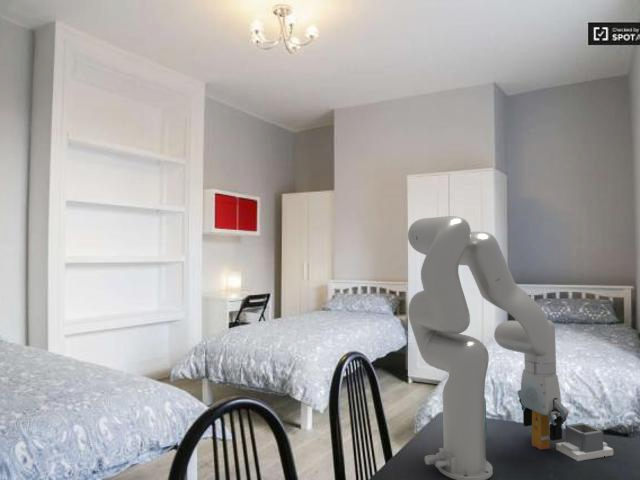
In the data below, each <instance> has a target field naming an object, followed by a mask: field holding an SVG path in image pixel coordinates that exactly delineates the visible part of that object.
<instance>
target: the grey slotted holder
mask: <svg viewBox="0 0 640 480" xmlns="http://www.w3.org/2000/svg"><path fill="white" fill-rule="evenodd" d="M555 450H556V451H559V452H560V453H562V454H564V455H566V456H568V457H569V458H572V459H573V460H575V461H576V462H581V461H586V460H592V459H597V458H604V456H605V457H609V456H610V457H611V456H614V449H613V448H612V447H610V446H608V443H607V442H605V441H604V431H602V430H601V429H599V428H598V427H594V426H593V425H590V424H588V423H584V422H578V423H571V424H565V441H564V442H558V443H557V442H556V443H555Z"/></svg>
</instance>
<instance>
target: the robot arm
mask: <svg viewBox="0 0 640 480" xmlns="http://www.w3.org/2000/svg"><path fill="white" fill-rule="evenodd" d="M407 238H408V239H407V240H408V242H409V244H410V246H411V247H412V249H414V250H415V251H417V253H420V254H423V255H425V257H424V260H423V262H422V266H421V269H420V280H421V285H422V288H423V290H420V291H418V292H416V293H415V294H414V295H413V296H412V297H411V299H410V301H409V304H408V312H407V313H408V319H409V323H410V326H411V330H412V332H413V333H412V334H413V336H414V339H415V343H416V346H417V348H418V351H419V354H420V356H421V357H422V359H423V361H424V362H425V363H426V364H427V365H429V366H430V367H432V368H435V369H438V370H441V371H443V372H446V373H448V378H447V379H446V381H445V383H444V386H443V389H442V433H443V435H442V436H443V443H442V444H443V447H439V452H437V453H436V454H429V455H428V454H427V455H425V456H424V462H425V464H426V465H434V466H435V467H436V468H437V469H438V471H439V472H440V473H441V474H442V475H444V476H445V477H447V478H450V479H452V480H488V479H489V478H491V477H492V476H493V473H494V471H493V470H494V467H493V465H492V464H491V463H490V461H489V460H487V459H486V440H485V400H486V397H485V390H486V379H487V372H488V366H489V360H490V357H489V351H488V349H487V347H486V345H484V343H483V342H482V341H481V340H479V339H477V338H475V337H474V336H471V335H466V334H462V333H464V332H465V331H467V329H468V328H469V326H470V324H471V316H470V315H471V314H470V310H469V307H468V303H467V299H466V297H465V293H464V291H463V287H462V283H461V279H460V275H459V268H460V267H459V266H467V267H468V269H469V271H470V273H471V275H472V277H473V280H474V282H475V285H476V287H477V288H478V290H479V293H480V295H481V297H482V298H483V299H484V300H485V301H487V302H488V303H490V304H491V305H493V306H495V307H497V308H498V309H501V310H502V311H504V312H505V313H507V314H509V315H510V316H512V318H514V319H515V320H505V321H502V322H500V323H499V324H497V326H496V327H495V329H494V335H493V337H494V340H495V342H496V343H497V344H498V345H499V347H501V348H503V349H505V350H509V351H512V352H517V353H522V354H524V369H522V374H521V381H520V389H519V390H517V391H516V393H517V397H518V400H519V403H520V406H521V410H522V411H523V412H522V415H523V416H522V417H523V426H524V427H532V410H533V411H535V412H537V413H539V414H541V415H544V416H546V415H548V417H549V422H550V423H549V441H550V440H551V442H552V441H554V442H555V441H558V440H562V439H563V426H562V425H564V423H565V422H566V421H567V418H568V416H569V413H570V412H569V410H568V409H567V408H566V407H565V406H564V405H563V404H562V398H561V397H562V396H561V388H560V383H559V378H558V375H557V354H556V353H557V352H556V350H557V348H556V346H557V345H556V327H555V323H554V322H553V321H552V320H550V319H548V318H547V316H546V314H545V312H544V310H543V308H541V305H540V304H538V303H537V302H536V301H535V300H534V299H533V298H532V297H531V296H530V295H529V294H528V293H527V292H526V291H524V290H523V289H522V288H521V287H520V286H519V285H518V284H517V283H516V282H515V280H514V277H513V276H512V273H511V271H510V268H509V266H508V263H507V262H506V258H505V256H504V254H503V252H502V250H501V248H500V247H501V246H500V245H499V242H498V240H497V239H496V238H495V236H494V235H493V234H491V233H489V232H486V231H472V229H471V226H470V224H469V222H468V221H467V219H464V218H462V217H459V216H452V215H451V216H450V215H449V216H448V215H447V216H445V215H444V216H438V217H426V218H420V219H417V220H415V221H414V222H413V223H412V224H411V225H410V226H409V228H408V232H407Z"/></svg>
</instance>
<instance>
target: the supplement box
mask: <svg viewBox="0 0 640 480" xmlns="http://www.w3.org/2000/svg"><path fill="white" fill-rule="evenodd" d="M531 446H532V447H535V448H537V449H539V450H548V449H550V419H549V417H548V415H546V416H544V415H541V414H539V413H537V412H535V411H533V410H532V425H531Z"/></svg>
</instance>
